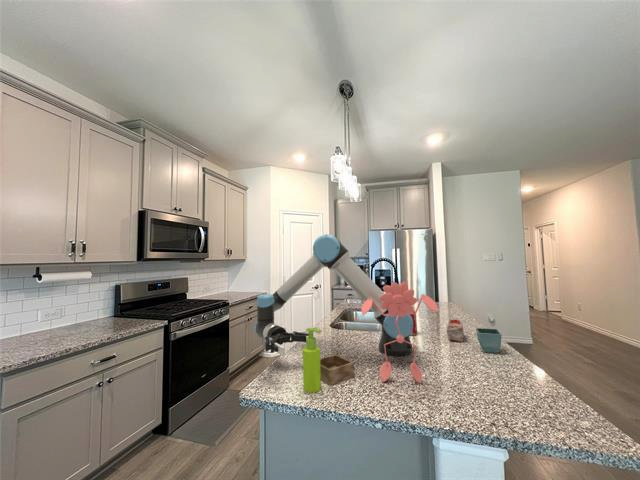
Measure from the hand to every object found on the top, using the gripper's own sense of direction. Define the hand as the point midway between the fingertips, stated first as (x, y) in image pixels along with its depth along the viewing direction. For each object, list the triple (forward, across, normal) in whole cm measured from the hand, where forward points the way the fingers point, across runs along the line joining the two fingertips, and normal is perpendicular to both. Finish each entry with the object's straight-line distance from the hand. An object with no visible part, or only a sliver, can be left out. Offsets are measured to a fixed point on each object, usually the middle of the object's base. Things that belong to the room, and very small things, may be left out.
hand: (300, 347), depth 99 cm
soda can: (-12, -77, -12) cm, 79 cm away
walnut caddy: (+3, -12, -12) cm, 17 cm away
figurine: (+24, -26, -12) cm, 37 cm away
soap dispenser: (+7, -1, -12) cm, 14 cm away
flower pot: (+26, -82, -12) cm, 87 cm away
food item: (+7, -88, -12) cm, 89 cm away
